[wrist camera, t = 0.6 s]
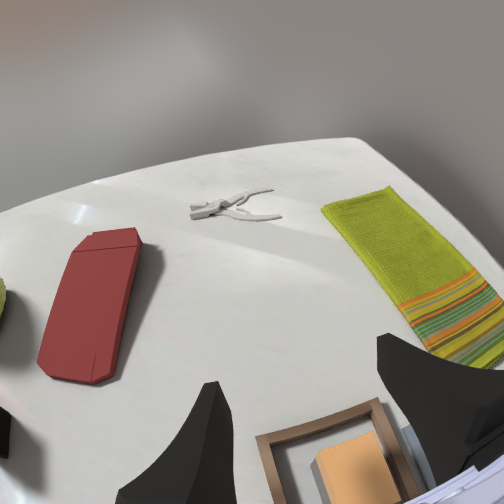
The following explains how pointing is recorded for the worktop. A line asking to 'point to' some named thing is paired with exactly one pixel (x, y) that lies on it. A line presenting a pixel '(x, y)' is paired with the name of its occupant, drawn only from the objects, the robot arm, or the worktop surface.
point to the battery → (4, 432)
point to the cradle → (331, 421)
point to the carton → (91, 308)
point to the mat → (419, 457)
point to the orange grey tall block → (354, 473)
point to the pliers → (214, 208)
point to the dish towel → (424, 277)
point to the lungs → (2, 295)
